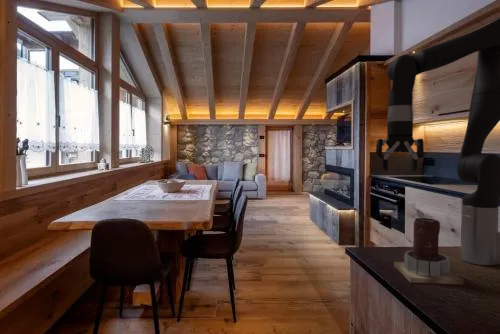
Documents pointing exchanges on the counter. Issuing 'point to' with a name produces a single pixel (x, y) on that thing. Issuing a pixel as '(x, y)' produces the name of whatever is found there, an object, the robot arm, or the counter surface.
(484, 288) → the counter surface
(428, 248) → the can
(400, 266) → the stand
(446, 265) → the collar
